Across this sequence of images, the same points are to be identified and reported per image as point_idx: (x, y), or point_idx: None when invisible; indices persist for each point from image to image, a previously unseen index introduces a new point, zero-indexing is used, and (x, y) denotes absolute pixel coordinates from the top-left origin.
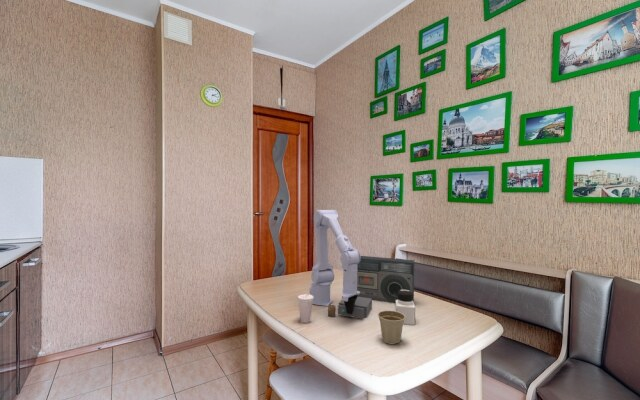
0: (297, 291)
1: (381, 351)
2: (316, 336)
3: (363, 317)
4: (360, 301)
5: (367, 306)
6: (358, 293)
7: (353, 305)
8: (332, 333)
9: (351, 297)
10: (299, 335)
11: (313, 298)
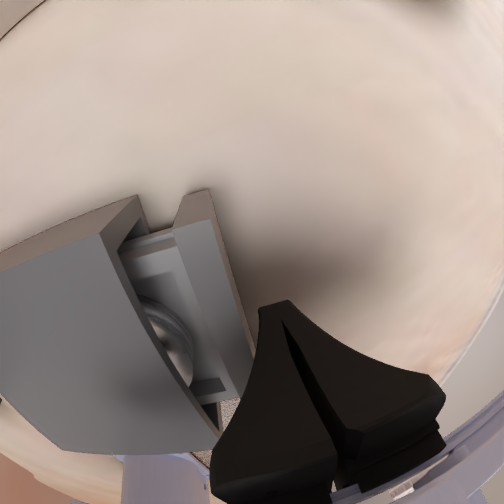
0: None
1: (483, 10)
2: (487, 286)
3: (209, 193)
4: (38, 361)
5: (55, 245)
6: (462, 492)
7: (322, 352)
8: (468, 254)
9: (400, 449)
10: (481, 327)
11: (427, 470)
